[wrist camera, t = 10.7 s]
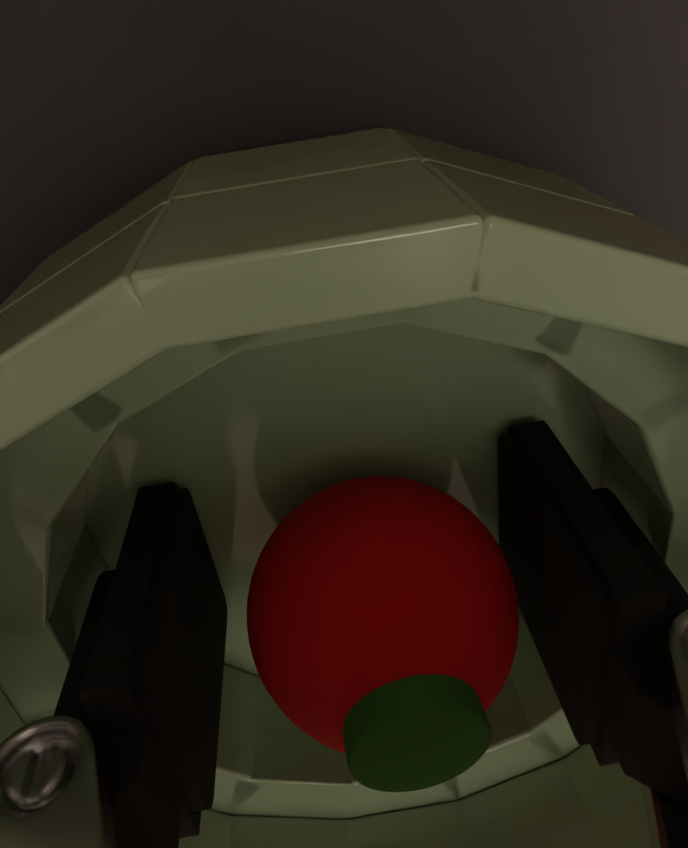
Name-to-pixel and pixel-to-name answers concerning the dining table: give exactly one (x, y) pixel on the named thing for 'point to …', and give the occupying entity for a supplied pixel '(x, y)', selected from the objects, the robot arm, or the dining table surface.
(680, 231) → the dining table surface
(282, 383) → the bowl
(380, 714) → the cherry tomato
